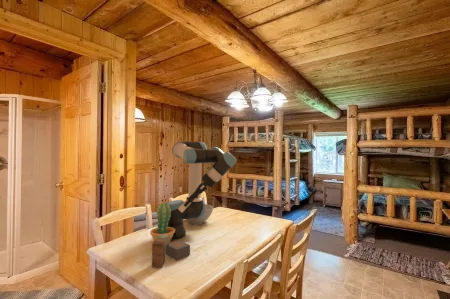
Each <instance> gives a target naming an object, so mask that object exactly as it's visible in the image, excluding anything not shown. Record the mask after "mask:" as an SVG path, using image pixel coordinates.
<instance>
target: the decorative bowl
mask: <svg viewBox="0 0 450 299" xmlns="http://www.w3.org/2000/svg"><path fill="white" fill-rule="evenodd" d="M205 206H206V208H205V213H204V215H203V216H202V217H200V218H192V219H184V220H185V221H187V222H188V224H190V225H194V226H195V225H196V226H198V225H199V226H200V225H202V224H204V223H205V222H206V221H207V220H208V219H209V218H210V217H211V215H212V213H213V210H214V206H213V205H211V204H206V203H205Z"/></svg>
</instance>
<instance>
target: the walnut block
mask: <svg viewBox="0 0 450 299" xmlns="http://www.w3.org/2000/svg"><path fill="white" fill-rule="evenodd" d="M151 250H152V251H151V268H152V269H162V268H163V267H164V265H165V264H164V263H166V260H165V259H166V257H165V256H166V255H165V240H155V241H154V240H153V242H152V243H151Z"/></svg>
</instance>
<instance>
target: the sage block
mask: <svg viewBox="0 0 450 299" xmlns="http://www.w3.org/2000/svg"><path fill="white" fill-rule="evenodd" d="M157 240H165V254H166V255H167V245H169V244H171V240H170V235H167V234H165V233H164V234H161V235H158V236H157Z"/></svg>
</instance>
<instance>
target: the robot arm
mask: <svg viewBox="0 0 450 299" xmlns="http://www.w3.org/2000/svg"><path fill="white" fill-rule="evenodd" d="M171 153H172V155H173V156H174V157H176V158H178V159H183V162H184V163H185V164H189V169H188V170H189V171H188V172H189V173H188V196H187V197H186V198H185V201H184V200H182V199H175V200H171V201H169V202H166V203H167V204H168V205H169V207H170V208H171V217H170V219H169V222H168V227H172V228H174V229H175V233H174V234H173V237H172V238H171V240H181V239H183V238H185V237H186V234H187V233H186V228H185V225H184V220H185V219H192V218H200V217H202V216H203V215H204V213H205V208H206V206H205V204H206V202H205V201H204V200H203V197H202V194H203V193H204V192H205V191H206V190H207V189H208V188H207V187H209V188H212V189H213V187H215V185H216V184H217V182H220V180H223V177H224V176H225V175H226V174H227V173H228V172H229V171H230V170H231V169H232V168H233V167H234V165H235V164H236V163H237V161H238V160H237V158H236V157H235V156H234V155H233V154H232V153H231V152H229V151H225V152H224V151H223V150H222V149H221V148H219V147H217V146H212V147H211V148H208V147H207V145H206V143H205V142H203V141H199V140H198V141H196V140H195V141H193V140H192V141H189V140H182V141H179V142H176V143H174V145H173V146H172V147H171ZM202 164H213V165H212V166H211V167H210V168H209V169H208V170H207V172H206V173H204V174H203V175H202V169H203V167H202V166H203V165H202ZM202 182H203V183H202ZM171 240H170V241H171Z"/></svg>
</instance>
